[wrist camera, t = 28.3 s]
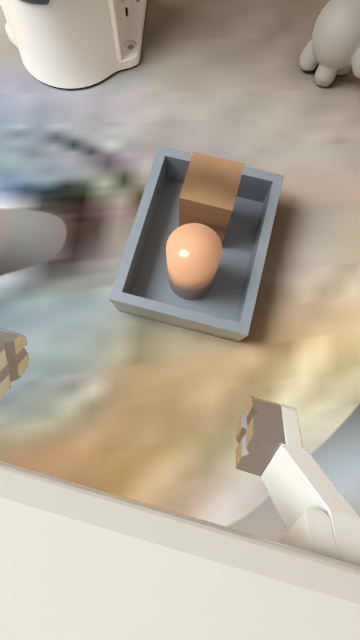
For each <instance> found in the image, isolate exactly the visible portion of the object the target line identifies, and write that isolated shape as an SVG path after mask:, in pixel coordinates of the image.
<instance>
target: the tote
mask: <svg viewBox="0 0 360 640" xmlns="http://www.w3.org/2000/svg"><path fill="white" fill-rule="evenodd" d="M191 157H192V154H191V153H186V152H182V151H178V150H174V149H170V148H166V147H161V146H159V147H158V150H157V153H156V156H155V159H154V162H153V166H152V169H151V172H150V175H149V178H148V181H147V184H146V187H145V190H144V193H143V196H142V199H141V202H140V206H139V209H138V212H137V215H136V218H135V221H134V224H133V227H132V230H131V233H130V236H129V239H128V243H127V246H126V249H125V252H124V255H123V258H122V261H121V264H120V267H119V270H118V273H117V276H116V279H115V283H114V286H113V289H112V292H111V295H110V298H109V299H110V301H111V302H112V303H113V304H114V306H115V307H116V308H117V309H118V311H122V312H126V313H129V314H133V315H137V316H141V317H145V318H148V319H152V320H156V321H160V322H163V323H167V324H171V325H175V326H179V327H182V328H186V329H190V330H194V331H197V332H201V333H205V334H209V335H213V336H216V337H220V338H224V339H228V340H231V341H235V342H239V341H241V340H242V339H244V338H245V337H247V336H248V333H249V329H250V324H251V320H252V316H253V311H254V307H255V302H256V298H257V293H258V289H259V285H260V280H261V276H262V271H263V267H264V262H265V258H266V253H267V249H268V245H269V240H270V236H271V231H272V227H273V222H274V218H275V214H276V209H277V205H278V200H279V196H280V191H281V187H282V183H283V178H284V176H283V175H279V174H274V173H270V172H266V171H262V170H258V169H253V168H249V167H245V166H244V168H243V172H242V176H241V180H240V184H239V187H238V191H237V195H236V199H235V203H234V207H233V211H232V214H231V217H230V220H229V223H228V227H227V230H226V233H225V236H224V239H223V242H222V249H223V250H222V257H221V260H220V263H219V266H218V268H217V271H216V274H215V277H214V280H213V283H212V286H211V288H210V290H209V291H208V293H207V294H206V295H205V296H203V297H201V298H199V299H196V300H185V299H182V298H180V297H178V296H177V295H176V294H175V293H174V292H173V291H172V290H171V288H170V285H169V280H168V268H167V257H166V244H167V241H168V238H169V236H170V235H171V233H172V232H173V231H174V230H175V229H177V228H178V227H179V197H180V194H181V190H182V187H183V184H184V180H185V177H186V173H187V170H188V167H189V163H190V160H191Z"/></svg>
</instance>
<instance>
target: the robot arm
mask: <svg viewBox="0 0 360 640" xmlns="http://www.w3.org/2000/svg"><path fill="white" fill-rule="evenodd" d="M146 3H147V0H0V4H1V6H2V9H3V12H4V14H5V17H6V19H7V23H6V25H5V29H6V32H7V35H8V37H9V39H10V40H11V41H12V42H13V43H14V44H15V45H16V46H17V47H18V49H19V52H20V55H21V58H22V61H23V64H24V65H25V67H26V69H27V70H28V71H29V72H30V73H31V74H32V75H33V76H34V77H35V78H36V79H38V80H39V81H41V82H43V83H45V84H48V85H50V86H54V87H58V88H67V89H73V88H82V87H87V86H90V85H93V84H96V83H98V82H100V81H102V80H104V79H106V78H107V77H109V76H110V75H111V74H113V73H115V72H117V71H119V70H123V69H127V68H131V67H133V66H135V65H137V64H138V63H139V61H140V55H141V46H142V37H143V29H144V20H145V11H146ZM26 345H27V340H26V336H24V335H22V334H18V333H15V332H12V331H8V330H5V329H2V328H0V399H1V398H2V397H3V396H4V395H5V394H6V393H7V391H8V390H9V389H10V388H11V382H12V381H14V380H17V379H19V378H20V377H21V376H22V375H23V373H24V372H25V370H26V368H27V366H28V360H29V357H28V353H27V351H26V350H25V349H24V347H25V346H26ZM237 440H238V442H239V446H238V448H237V450H236V469H239V470H243V471H246V472H249V473H252V474H255V475H259V476H261V477H260V478H261V480H262V482H263V484H264V486H265V488H266V490H267V492H268V494H269V496H270V498H271V500H272V502H273V504H274V505H275V508H276V510H277V512H278V513H279V516H280V518H281V520H282V522H283V524H284V526H285V528H286V530H287V533H286V534H285V535H284V536H283V537H282V538H281V540H280V541H279V542H275V541H272V540H269V539H265V538H262V537H258V536H255V535H252V534H248V533H245V532H241V531H238V530H234V529H231V528H228V527H224V526H221V525H217V524H214V523H210V522H207V521H204V520H200V519H197V518H193V517H190V516H187V515H183V514H180V513H176V512H173V511H169V510H166V509H163V508H159V507H156V506H152V505H149V504H145V503H142V502H139V501H135V500H132V499H128V498H125V497H121V496H118V495H115V494H111V493H108V492H104V491H101V490H98V489H94V488H91V487H87V486H84V485H80V484H77V483H74V482H70V481H67V480H63V479H60V478H56V477H53V476H50V475H46V474H43V473H39V472H36V471H32V470H29V469H26V468H22V467H19V466H15V465H12V464H8V463H5V462H2V461H0V640H360V517H359V516H358V515H357V513H356V512H355V511H354V509H353V508H352V507H351V506H350V504H349V503H348V502H347V500H346V499H345V498H344V497H343V495H342V494H341V493H340V492H339V490H338V489H337V488H336V486H335V485H334V484H333V483H332V481H331V480H330V479H329V477H328V476H327V475H326V474H325V472H324V471H323V470H322V469H321V468H320V466H319V465H318V463H317V462H316V461H315V460H314V458H313V457H312V456H311V454H310V453H309V452H308V451H307V450H304V449H303V447H302V441H301V436H300V430H299V425H298V419H297V414H296V410H295V408H293V407H289V406H286V405H282V404H277V403H274V402H270V401H266V400H262V399H258V398H254V397H250V398H249V399H248V401H247V403H246V411H244V412H242V414H241V417H240V419H239V423H238V428H237Z"/></svg>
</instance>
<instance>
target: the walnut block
mask: <svg viewBox="0 0 360 640" xmlns="http://www.w3.org/2000/svg"><path fill="white" fill-rule="evenodd" d="M243 168H244V164H242V163H238V162H233V161H229V160H225V159H221V158H217V157H212V156H208V155H204V154H200V153H196V152H193V153H192V157H191V160H190V163H189V167H188V170H187V173H186V177H185V180H184V184H183V187H182V190H181V194H180V197H179V227H180V226H182V225H185V224H189V223H199V224H203V225H206V226H208V227H210V228H211V229H213V230H214V231H215V232H216V233H217V235H218V236H219V238H220V240H221V243H222V242H223V239H224V236H225V233H226V230H227V227H228V223H229V220H230V217H231V214H232V211H233V207H234V203H235V199H236V195H237V191H238V187H239V184H240V180H241V176H242V172H243Z"/></svg>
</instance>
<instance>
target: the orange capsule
mask: <svg viewBox="0 0 360 640" xmlns="http://www.w3.org/2000/svg"><path fill="white" fill-rule="evenodd" d="M222 250H223V249H222V243H221V240H220V238H219V236H218V235H217V233H216V232H215V231H214V230H213V229H211V228H210V227H208V226H206V225H203V224H199V223H189V224H185V225H182V226H180V227H178V228H177V229H175V230H174V231H173V232H172V233H171V235H170V236H169V238H168V241H167V244H166V257H167V268H168V280H169V285H170V288H171V290H172V291H173V292H174V293H175V294H176V295H177V296H178V297H180V298H182V299H185V300H196V299H199V298H201V297H203V296H205V295H206V294H207V293H208V291H209V290H210V288H211V286H212V283H213V280H214V277H215V274H216V271H217V268H218V266H219V263H220V260H221V257H222Z"/></svg>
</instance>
